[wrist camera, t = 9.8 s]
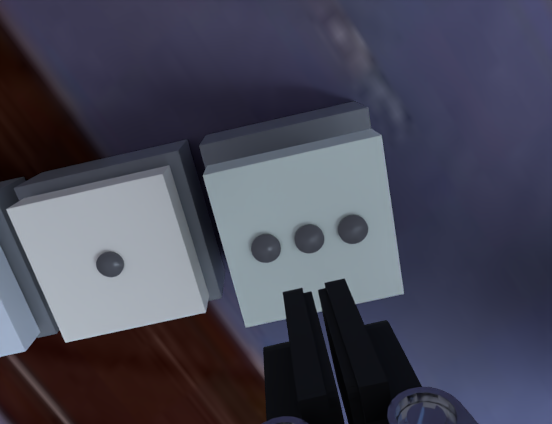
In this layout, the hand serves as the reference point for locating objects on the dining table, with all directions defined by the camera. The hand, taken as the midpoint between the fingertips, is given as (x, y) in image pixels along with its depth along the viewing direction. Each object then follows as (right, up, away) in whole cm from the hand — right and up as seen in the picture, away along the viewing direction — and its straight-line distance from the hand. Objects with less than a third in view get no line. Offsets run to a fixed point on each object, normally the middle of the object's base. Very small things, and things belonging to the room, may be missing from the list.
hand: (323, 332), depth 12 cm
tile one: (-9, +2, +13) cm, 16 cm away
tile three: (0, +4, +11) cm, 12 cm away
